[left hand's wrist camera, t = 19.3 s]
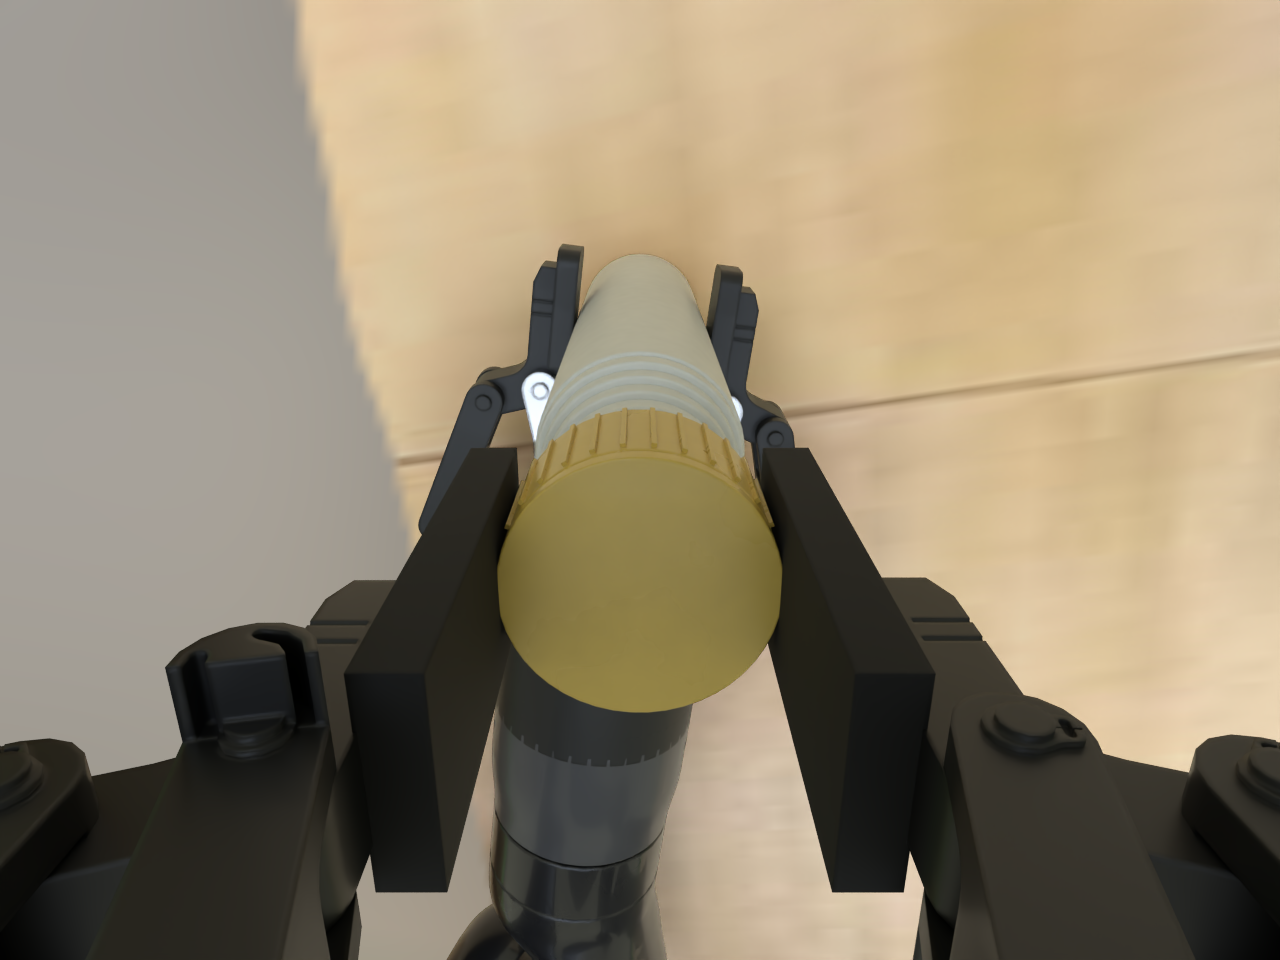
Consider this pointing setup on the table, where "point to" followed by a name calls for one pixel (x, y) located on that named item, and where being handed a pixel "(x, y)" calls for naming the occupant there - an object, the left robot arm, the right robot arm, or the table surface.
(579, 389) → the bottle
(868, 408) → the table surface
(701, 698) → the cap
